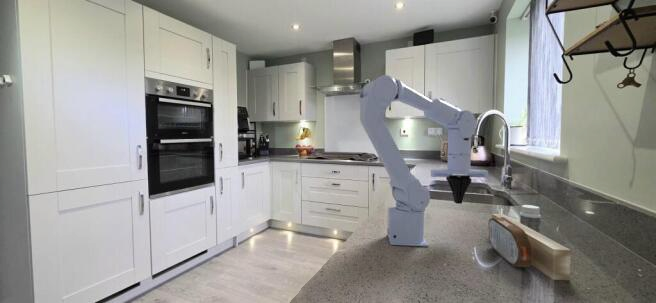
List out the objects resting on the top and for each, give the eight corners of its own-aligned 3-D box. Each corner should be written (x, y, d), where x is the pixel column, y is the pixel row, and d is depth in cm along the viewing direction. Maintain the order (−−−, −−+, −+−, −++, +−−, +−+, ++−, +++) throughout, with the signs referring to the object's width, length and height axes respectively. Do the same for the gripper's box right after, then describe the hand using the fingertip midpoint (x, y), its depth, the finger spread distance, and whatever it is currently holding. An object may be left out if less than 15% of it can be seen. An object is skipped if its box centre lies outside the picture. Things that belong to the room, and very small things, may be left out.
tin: (534, 275, 53) (535, 234, 53) (516, 274, 54) (518, 233, 53) (498, 245, 68) (499, 213, 67) (485, 244, 68) (486, 212, 68)
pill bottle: (544, 239, 71) (545, 209, 71) (524, 238, 72) (525, 208, 72) (534, 233, 76) (535, 204, 75) (515, 232, 77) (516, 203, 76)
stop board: (552, 279, 51) (553, 249, 51) (491, 234, 75) (492, 213, 75) (569, 280, 51) (570, 250, 51) (502, 234, 75) (503, 214, 74)
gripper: (435, 155, 70) (435, 205, 71) (494, 155, 68) (492, 207, 69) (429, 153, 77) (428, 199, 78) (481, 153, 75) (480, 200, 76)
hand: (457, 202), depth 74 cm, fingers closed
